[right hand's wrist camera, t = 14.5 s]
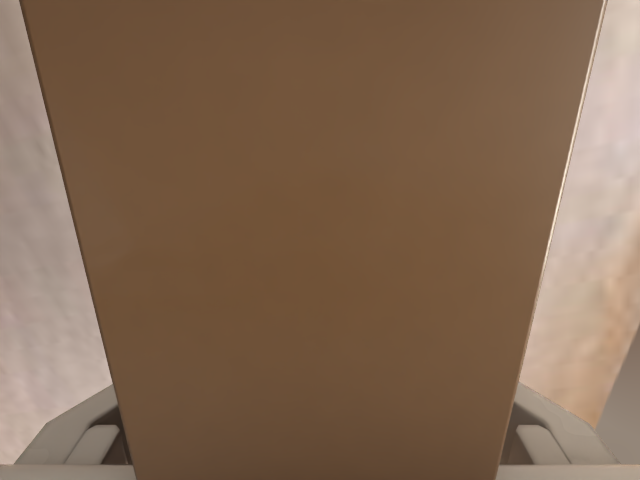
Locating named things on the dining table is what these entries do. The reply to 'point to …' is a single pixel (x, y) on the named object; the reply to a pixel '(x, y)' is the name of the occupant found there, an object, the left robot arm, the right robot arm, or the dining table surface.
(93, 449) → the right robot arm
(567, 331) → the dining table surface
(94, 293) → the bar
